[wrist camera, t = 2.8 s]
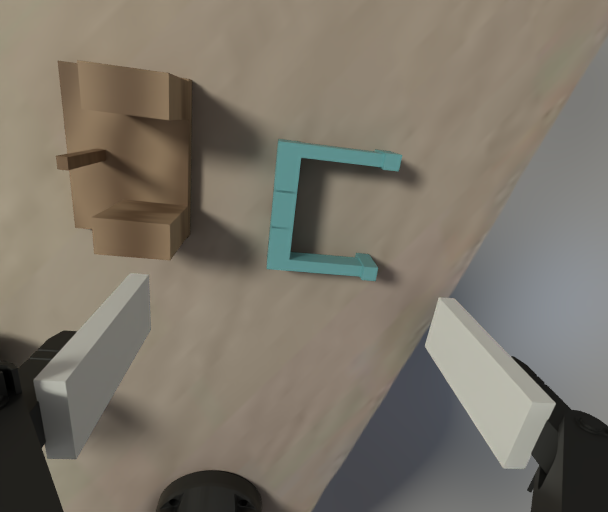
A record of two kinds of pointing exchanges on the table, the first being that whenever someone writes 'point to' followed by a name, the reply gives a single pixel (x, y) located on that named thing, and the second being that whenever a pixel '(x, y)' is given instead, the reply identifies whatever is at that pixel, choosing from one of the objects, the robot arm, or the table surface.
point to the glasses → (286, 203)
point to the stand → (128, 157)
